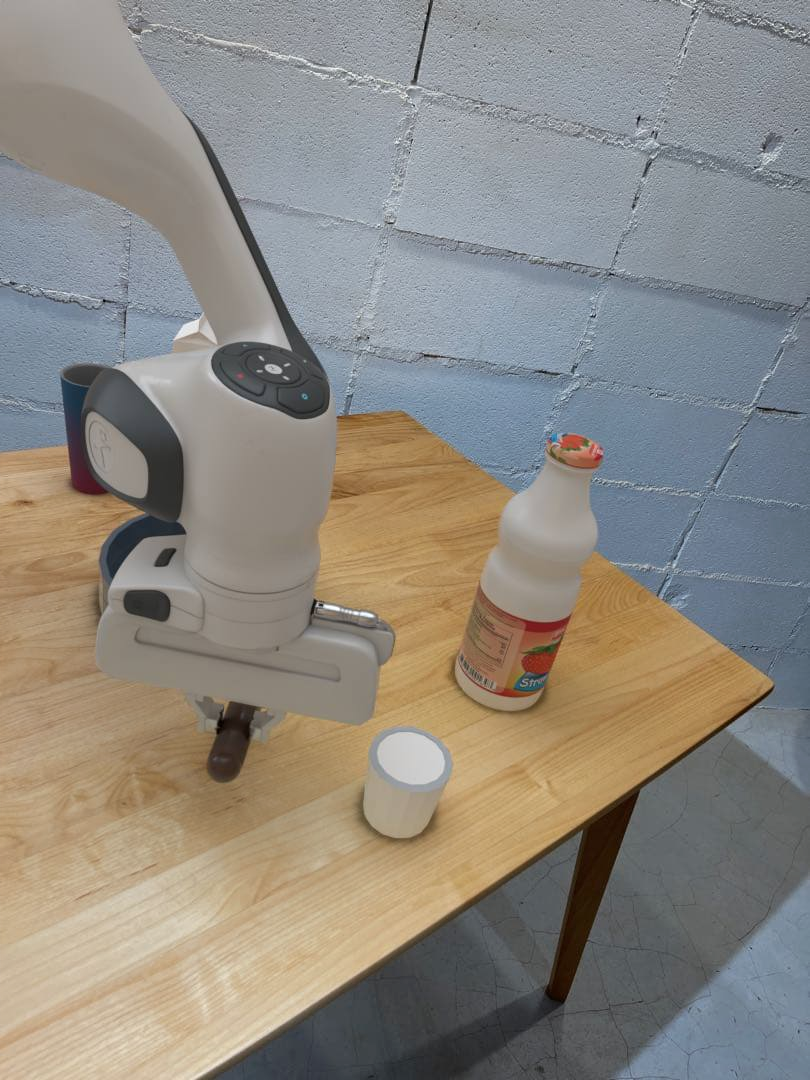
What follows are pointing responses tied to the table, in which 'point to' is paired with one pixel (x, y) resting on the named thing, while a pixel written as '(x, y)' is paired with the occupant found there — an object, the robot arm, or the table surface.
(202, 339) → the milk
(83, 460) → the cup
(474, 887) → the table surface
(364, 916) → the table surface
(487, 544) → the table surface
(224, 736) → the brown bar
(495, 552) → the fruit juice
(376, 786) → the shot glass
